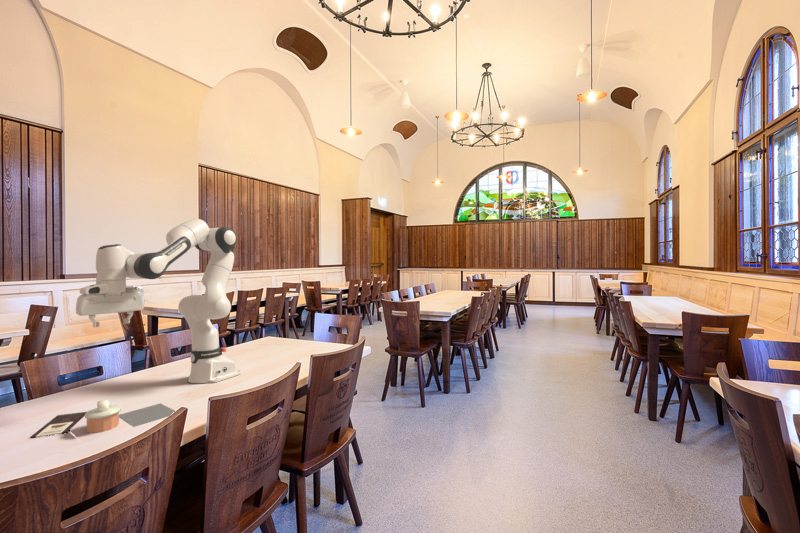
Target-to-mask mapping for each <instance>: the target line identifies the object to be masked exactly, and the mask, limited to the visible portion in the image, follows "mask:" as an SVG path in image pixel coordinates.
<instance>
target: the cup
mask: <svg viewBox="0 0 800 533" xmlns="http://www.w3.org/2000/svg"><path fill="white" fill-rule="evenodd" d="M119 415H120V412H118V413H116V414H114V415H111V416H108V417H103V418H97V419H87V418H86V432H87V433H88V434H89V433H91V434H96V433H103V432H107V431H110V430H113V429H115V428H116V427H118V426H119V425H120V418H119Z"/></svg>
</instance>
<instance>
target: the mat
mask: <svg viewBox="0 0 800 533" xmlns="http://www.w3.org/2000/svg"><path fill="white" fill-rule="evenodd" d="M175 411H176V410H175V409H172V408H171V407H169V406H167V405H164V404H162V403H157V404H153V405H150V406H146V407H142V408H139V409H135V410H131V411H126V412H124V413H119V419H121V420H122V421H124V422H125V423H127V424H128V425H130V426H132V427H133V428H136V427H138V426H141V425H144V424H148V423H152V422H155V421H158V420H162V419H165V418H169V417H171V416H170V415H171V414H172V413H173V412H175Z"/></svg>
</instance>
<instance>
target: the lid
mask: <svg viewBox="0 0 800 533" xmlns="http://www.w3.org/2000/svg"><path fill="white" fill-rule="evenodd" d="M96 403H97V404H96V406H97V407H95V408H92V409H90V410H88V411H85V412H86V413H85V416H84V418H85V419H86V420H87V419H97V418H103V417H108V416H111V415H114V414H116V413H118V412H119V413H120V412H121V409H122V406H120V405H118V404H117V405H114V404H113V405H110V401H109V399H103V400H98V401H97V402H96Z"/></svg>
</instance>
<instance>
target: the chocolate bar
mask: <svg viewBox="0 0 800 533" xmlns="http://www.w3.org/2000/svg"><path fill="white" fill-rule="evenodd" d="M86 412H87V411H83V412H82V411H81V412H75V413H67V414H57V415H56V416H55V417H53V418H52V419H50V421H48V422H47V423H45V424H44V425H43V426H42V427H41V428H40V429H38V430H37V431H35V433H33V434H32V435H31V436H30V437H29V438H31V439H37V438H36V437H38V438H43V437H42V436H45V437H49V436H48V435H52V436H56V435H55V434H59V435H65V434H64V433H66V434H68V433H69V432H70V431H71V429H72V428H73V427H74V426H76V424H77V423H79V422H80V421H81V420H82V419H83V418H85V413H86Z"/></svg>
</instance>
